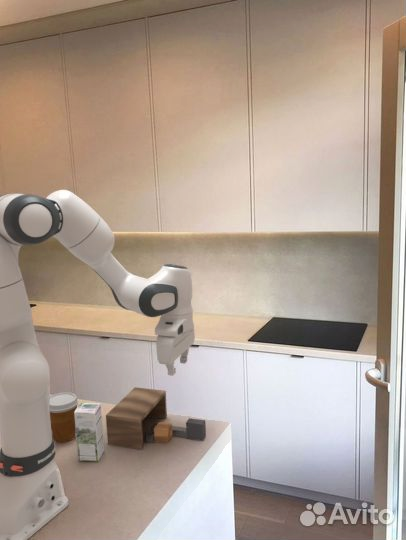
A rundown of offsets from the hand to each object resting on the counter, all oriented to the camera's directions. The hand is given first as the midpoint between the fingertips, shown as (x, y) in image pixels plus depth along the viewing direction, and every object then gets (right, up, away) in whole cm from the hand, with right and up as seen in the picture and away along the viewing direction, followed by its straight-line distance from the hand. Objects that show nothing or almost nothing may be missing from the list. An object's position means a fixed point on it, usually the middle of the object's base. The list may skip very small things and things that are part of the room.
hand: (177, 368), depth 139 cm
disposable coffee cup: (-34, -21, +5) cm, 40 cm away
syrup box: (-23, -23, -5) cm, 33 cm away
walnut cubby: (-12, -20, +7) cm, 25 cm away
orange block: (-4, -21, +2) cm, 21 cm away
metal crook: (-1, -21, +2) cm, 21 cm away
